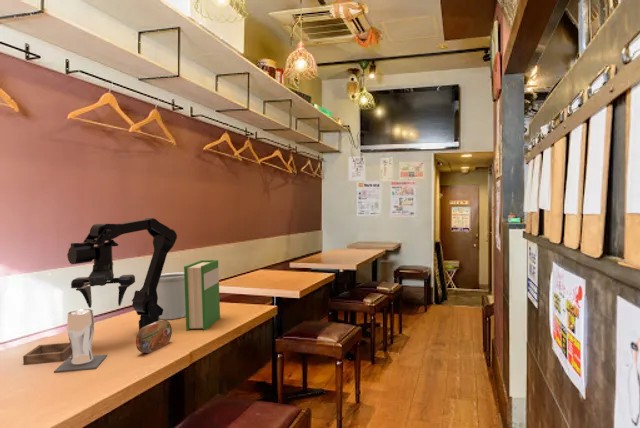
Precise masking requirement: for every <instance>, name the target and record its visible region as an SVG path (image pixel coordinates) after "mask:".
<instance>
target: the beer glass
mask: <svg viewBox="0 0 640 428" xmlns="http://www.w3.org/2000/svg"><path fill="white" fill-rule="evenodd" d="M93 312H94V311H93V309H92V308H91V309H90V308H88V309H86V308H85V309H84V308H83V309H76V310H72V311H69V312H68V313H67V324H66V326H67V337H68V340H69V342H70V345H71V350H72V354H71V357H70V358H71V365H84V364H88V363H90V362H92V361H93V360H94V357H93V356H94V353H93V341H94V333H95V321H94V318H95V317H94V313H93Z"/></svg>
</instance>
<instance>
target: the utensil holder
mask: <svg viewBox="0 0 640 428" xmlns="http://www.w3.org/2000/svg"><path fill="white" fill-rule="evenodd" d="M157 296H158V301H157V304H158V305H159V306H160V307H161V308H162V309H163V313H162V315H160V316H159V318H160V320H167V321H168V320H174V319H175V320H177V319H182V318H186V309H185V280H184V271H183V272H182V271H181V272H179V271H178V272H168V273H167V272H166V273H161V276H160V279H159V283H158V286H157Z"/></svg>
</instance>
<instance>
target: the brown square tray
mask: <svg viewBox="0 0 640 428" xmlns="http://www.w3.org/2000/svg"><path fill="white" fill-rule="evenodd" d="M70 356H72V350H71V345H70V341H69V342H60V343H59V342H58V343H47V344H38V345H37V346H36V347H34V348H33V349H32V350H30V351H29V352H27V353H26V354H25V355H23V356H22V358H23V360H22V362H23V365H24V366H25V365H33V364H34V365H35V364H45V363H58V362H65V361H66V360H67V359H68V358H70Z"/></svg>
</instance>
